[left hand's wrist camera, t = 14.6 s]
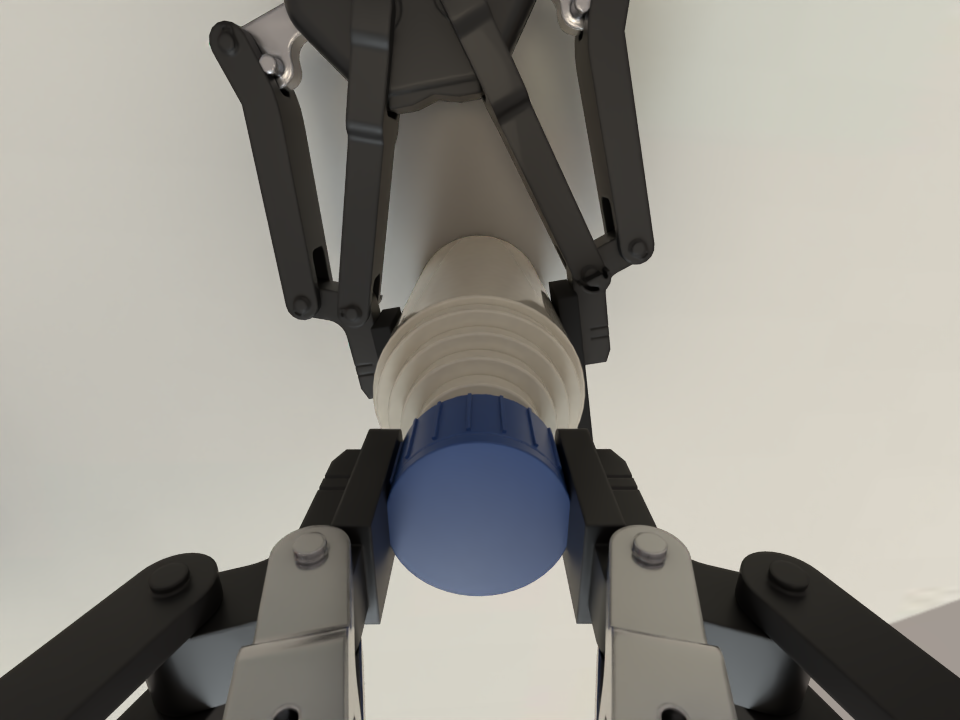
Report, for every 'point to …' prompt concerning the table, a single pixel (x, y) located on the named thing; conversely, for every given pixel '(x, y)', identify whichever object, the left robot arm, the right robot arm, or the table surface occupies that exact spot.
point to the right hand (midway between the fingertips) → (498, 442)
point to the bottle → (478, 339)
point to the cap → (478, 497)
